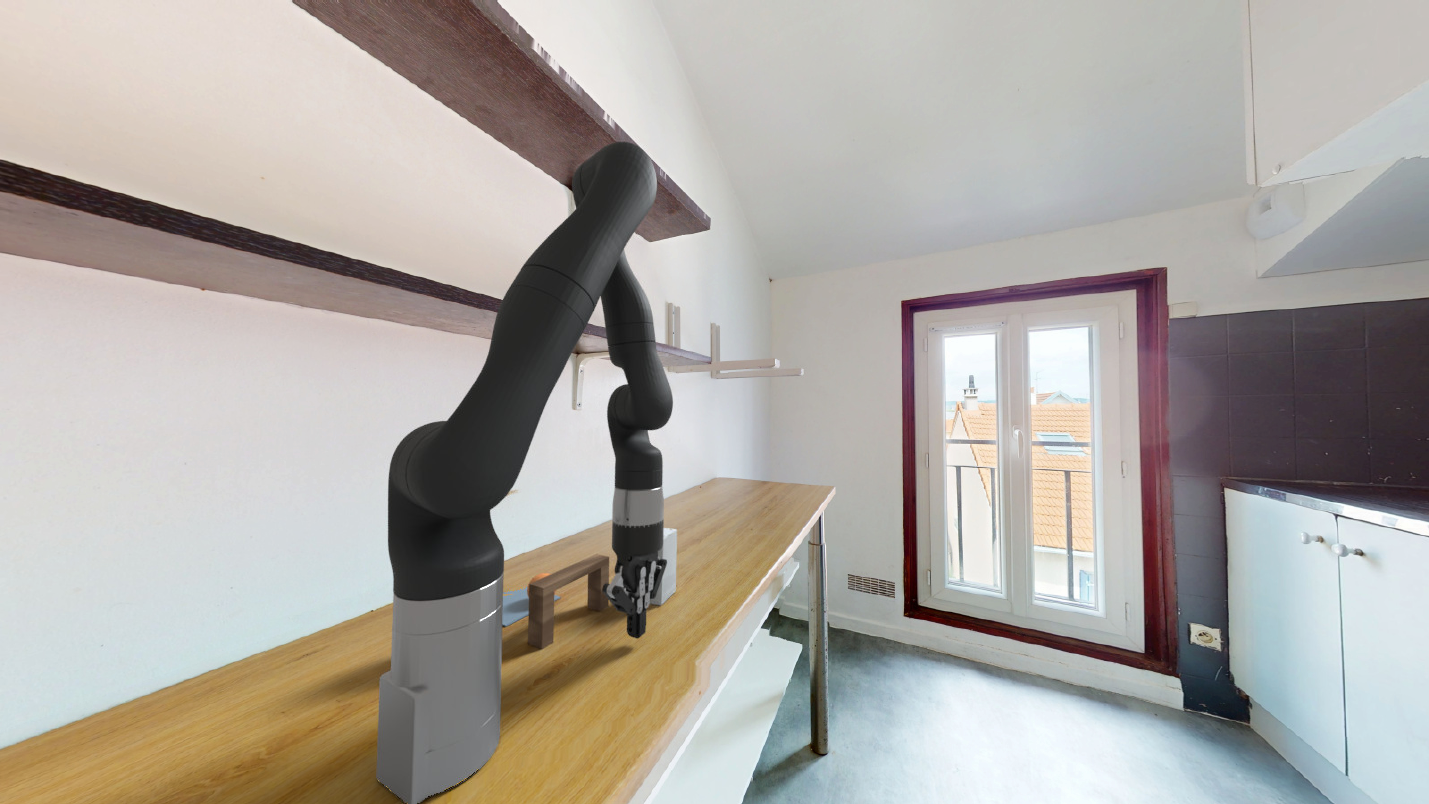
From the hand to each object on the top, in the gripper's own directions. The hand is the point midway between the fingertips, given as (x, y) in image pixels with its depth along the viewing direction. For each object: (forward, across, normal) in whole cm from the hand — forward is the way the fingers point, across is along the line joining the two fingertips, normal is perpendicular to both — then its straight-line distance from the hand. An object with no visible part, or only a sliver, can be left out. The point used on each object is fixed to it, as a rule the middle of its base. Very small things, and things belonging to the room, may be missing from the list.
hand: (636, 634), depth 58 cm
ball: (-1, +3, +23) cm, 23 cm away
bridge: (+2, 0, +13) cm, 13 cm away
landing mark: (+2, 0, +27) cm, 27 cm away
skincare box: (+2, +14, +5) cm, 15 cm away
